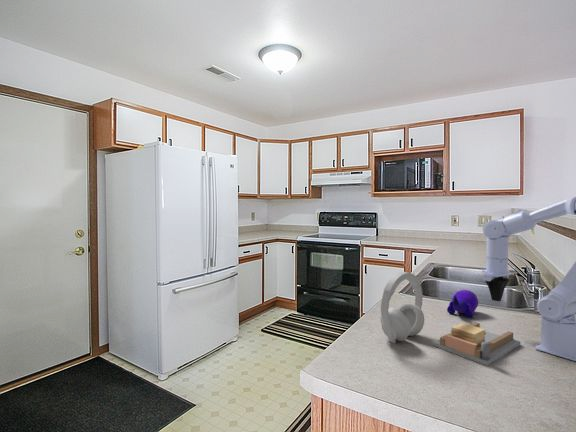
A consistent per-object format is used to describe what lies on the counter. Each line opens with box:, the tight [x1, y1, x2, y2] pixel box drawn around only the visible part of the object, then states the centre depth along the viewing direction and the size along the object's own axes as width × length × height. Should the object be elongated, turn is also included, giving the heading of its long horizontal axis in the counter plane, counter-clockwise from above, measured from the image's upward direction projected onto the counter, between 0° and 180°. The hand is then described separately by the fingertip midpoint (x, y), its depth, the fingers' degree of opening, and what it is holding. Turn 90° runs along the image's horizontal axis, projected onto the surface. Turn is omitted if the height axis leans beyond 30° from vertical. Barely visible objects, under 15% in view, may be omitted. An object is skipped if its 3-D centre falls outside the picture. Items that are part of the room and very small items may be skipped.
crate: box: [450, 322, 486, 348], centre depth 88 cm, size 6×6×5 cm
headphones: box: [379, 271, 425, 344], centre depth 96 cm, size 19×8×20 cm, turn 127°
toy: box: [446, 289, 479, 319], centre depth 118 cm, size 9×10×15 cm
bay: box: [433, 321, 521, 367], centre depth 91 cm, size 14×21×5 cm, turn 125°
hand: (496, 300), depth 101 cm, fingers closed
